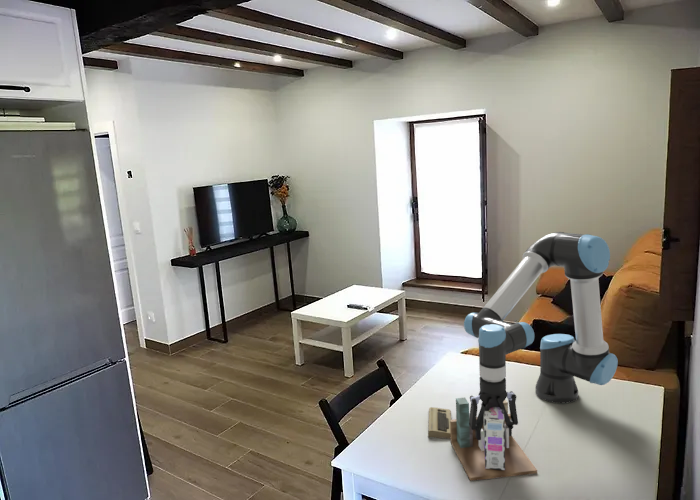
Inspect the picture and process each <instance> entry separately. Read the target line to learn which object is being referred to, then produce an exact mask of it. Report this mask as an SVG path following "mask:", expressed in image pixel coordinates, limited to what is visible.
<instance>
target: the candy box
mask: <svg viewBox="0 0 700 500" xmlns="http://www.w3.org/2000/svg"><path fill="white" fill-rule="evenodd" d="M483 424H484V451H485V469H496V470H505V447H504V446H505V423H504V412H503V409H501V408H500V407H492V408H490V409H489V411H484V423H483Z"/></svg>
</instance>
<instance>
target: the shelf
mask: <svg viewBox="0 0 700 500" xmlns="http://www.w3.org/2000/svg"><path fill="white" fill-rule="evenodd" d="M469 403H470V402H469V401H468V400H467V398H466V397H457V398H455V418H456V419H455V418H454V419H452V420H450V433H451V438H450V443H451V445H452V447H453V450H454V452H455V454H456V456H457V458H458V460H459V461H460V464H461V466H462V467H463V470H464V472H465V474H466V476H467V477H468V479H469V481H471V482H472V481H473V482H474V481H481V480H488V479H489V480H491V479H498V478H499V479H500V478H508V477H516V476H523V475H524V476H525V475H526V476H527V475H534V474H538V469H537V468H536V466H535V465H534V464H533V462H532V461H531V460H530V459H529V456H527V454H526V453H525V451H524V449H522V447H521V446H520V444H519V443H518V442H517V441H516V439H515V438H514V436H512V435H513V434H512V435H511V436H509V448H506V446H504V447H505V470H496V469H485V451H481V449H480V447H479V440H477V438H476V436H475V430H472V429H471V427H470V426H469V418H470V404H469ZM503 404H504V406H505V409H506V412H507V414H508V416H509V419H511V416H510V413H509V402H508V400H507V399H505V400H504V402H503ZM477 417H478V416H477ZM477 417H476V420H477ZM504 423H505V420H504ZM505 424H506V423H505ZM482 429H483V431H484V424H483V426H482Z"/></svg>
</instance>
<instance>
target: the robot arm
mask: <svg viewBox="0 0 700 500" xmlns="http://www.w3.org/2000/svg"><path fill="white" fill-rule="evenodd" d="M521 258H522V260H521V261H520V262H519V264H518V265H517V266H516V267H515V268H514V269H513V270H512V271H511V273H510V274H509V275H508V277H507V278H506V279H505V280H504V281H503V283H502V285H500V286H499V287H498V289H497V290H496V292H495V293H494V294H493V295H492V296H491V297H490V299H489V300H488V302H486V304H485V305H484V306H483V307H482V309H481V310H480V311H479V312H470V313H468V314H467V315H466V316H465V319H464V321H463V327H464V330H465V332H466V333H467V334H468V335H470V336H473V337H474V338H477V339H478V340H477V341H478V357H479V358H478V359H479V363H478V364H479V366H478V367H479V368H478V369H479V393H478V395H475V396H473V395H469V401H470V407H469V413H470V418H469V426H470V427H471V429H472V430H475V436H476V438H477V440H479V447H480V449H481V451H484V431H483V429H482V426H483V423H484V411H489V409H490V408H492V407H500V408H501V409H503V412H504V420H505V423H506V424H505V446H506V448H509V436H511V435H513V433H512V432H513V429H514V425H515V426H518V425H519V419H518V418H519V417H518V414H517V413H518V411H517V405H516V400H517V395H516V394H515V392H513V391H512V390H510V391H506V390H507V378H506V377H507V368H506V367H507V366H506V364H507V363H506V362H507V360H506V359H507V355H508V354H510V353H514V352H517V351H519V350H521V349H526V347H528V346H531V345H532V344H533V342H534V341H535V337H536V336H535V332H534V329H533V328H532V326H531V325H530V324H529V323H527V322H525V321H520V322H515V323H510V322H507V321H504V320H505V319H506V318H507V316H509V314H511V312H512V311H513V309H514V307H515V306H517V304H518V302H519V301H521V299H522V298H523V296H524V295H525V294H526V293H527V292H528V291H529V289H530V287H532V285H533V284H534V282H535V281H536V280H537V279H538V278H539V277H540V275H541V274H544V273H546V272H547V271H548V270H549V269H550V268H551V267H554V266H557V267H562V268H563V269H564V276H565V277H566V278H567V279H568V280H570V289H571V290H570V291H571V300H572V312H573V322H574V332H575V333H574V334H575V337H574V336H573V335H570V334H565V333H553V334H547V335H545V336H543V337H542V338H541V340H540V347H539V349H540V351H539V352H540V355H539V356H540V358H539V359H540V360H539V361H540V363H539V367H540V372H539V376H538V378H537V381H536V384H535V395H536V396H537V397H538V398H540V399H542V400H543V401H546V402H549V403H554V404H570V403H573V402H575V401H577V400H578V398H579V389H578V386H577V383H576V381H575V378H577V379H580V380H583V381H586V382H589V383H590V384H595V385H597V386H604V385H607V384H608V383H609V382H611V380H612V379H613V377H614V376H615V373H616V372H617V368H618V364H619V362H618V358H617V356H616V355H615V354H614V353H611V352H610V348H609V347H610V346H609V343H608V342H606V341H605V340H604V333H603V321H602V320H603V319H602V309H601V308H602V307H601V296H600V293H601V292H600V283H599V282H600V281H599V278H600V277H602V276H603V274H604V272H605V271H606V270H607V269H608V267H609V265H610V264H609V263H610V262H609V261H611V251H610V247H609V245H608V243H607V242H606V240H605V239H604V238H602V237H600V236H597V235H592V234H588V233H587V234H583V233H573V232H572V233H571V232H564V231H555V232H551V233H548V234H545V235H543V236H542V237H541V238H539V239H537V240H536V241H534V242H533V243H532V244H531V245H530V246H529V247H527V249H526V250H525V251H524V253H523V254H522V257H521ZM480 400H481V404H480V405H481V406H480V409H479V412H478V405H479V402H480ZM504 400H507V402H508V410H509V413H508V414H510V416H511V419H509V416H508V414H507V412H506V409H505V406H504V404H503V402H504ZM476 417H477V420H476Z"/></svg>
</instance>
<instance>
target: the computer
mask: <svg viewBox="0 0 700 500" xmlns="http://www.w3.org/2000/svg"><path fill="white" fill-rule="evenodd" d="M452 418H453V417H452V411H451V409H448V408H440V407H432V406H431V407H429V408H428V421H427V422H428V425H427V426H428V427H427V428H428V431H427V434H428V436H427V437H428V438H431V437H434V439H435V437H436V439H440V438H441V439H451V433H450V420H453V419H452Z"/></svg>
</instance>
